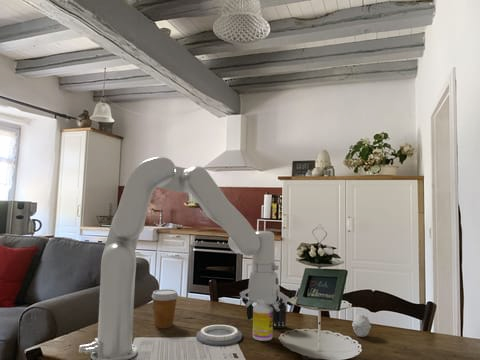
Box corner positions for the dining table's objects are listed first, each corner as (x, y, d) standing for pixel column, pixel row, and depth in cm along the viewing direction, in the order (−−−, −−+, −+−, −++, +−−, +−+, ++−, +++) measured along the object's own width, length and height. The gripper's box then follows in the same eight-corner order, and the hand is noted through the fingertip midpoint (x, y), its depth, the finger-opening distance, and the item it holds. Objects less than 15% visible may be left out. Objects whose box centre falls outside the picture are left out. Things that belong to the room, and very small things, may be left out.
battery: (267, 329, 126) (267, 296, 128) (266, 325, 130) (267, 293, 131) (287, 329, 126) (287, 296, 127) (285, 326, 130) (286, 294, 131)
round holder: (210, 349, 107) (210, 341, 107) (188, 334, 119) (188, 327, 120) (250, 339, 115) (250, 332, 115) (226, 327, 128) (226, 321, 128)
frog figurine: (373, 335, 122) (372, 314, 122) (368, 341, 116) (368, 319, 117) (355, 331, 125) (354, 311, 126) (349, 337, 119) (349, 315, 120)
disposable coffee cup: (182, 326, 128) (183, 292, 129) (158, 331, 122) (159, 295, 123) (168, 320, 135) (169, 288, 137) (145, 324, 129) (147, 291, 130)
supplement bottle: (271, 342, 113) (271, 301, 115) (251, 340, 115) (251, 299, 116) (273, 335, 120) (273, 296, 121) (254, 333, 121) (254, 295, 122)
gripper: (291, 268, 119) (292, 321, 117) (245, 265, 127) (245, 314, 125) (284, 271, 112) (284, 327, 111) (235, 267, 120) (235, 320, 118)
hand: (263, 320), depth 118 cm, fingers open, 9 cm apart
